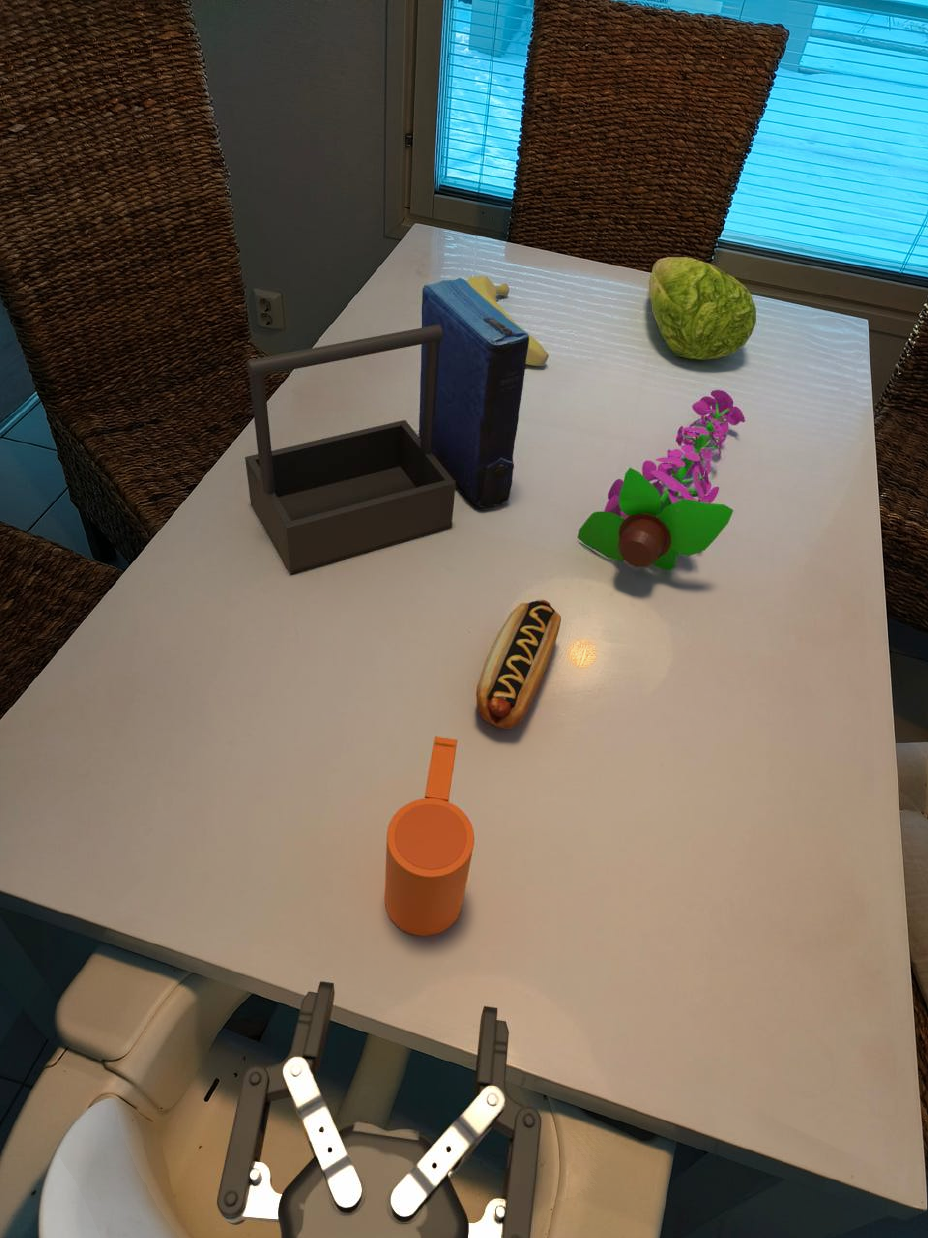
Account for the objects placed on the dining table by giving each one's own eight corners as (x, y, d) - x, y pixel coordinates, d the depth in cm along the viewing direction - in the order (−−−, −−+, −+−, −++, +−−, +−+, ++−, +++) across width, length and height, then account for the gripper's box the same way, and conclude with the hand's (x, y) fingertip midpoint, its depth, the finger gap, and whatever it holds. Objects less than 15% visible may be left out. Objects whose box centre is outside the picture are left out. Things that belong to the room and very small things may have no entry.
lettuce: (719, 256, 128) (666, 202, 121) (785, 329, 111) (728, 270, 104) (659, 318, 134) (606, 269, 127) (713, 396, 116) (654, 344, 110)
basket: (288, 575, 82) (272, 398, 67) (248, 504, 88) (226, 328, 74) (453, 527, 89) (470, 356, 74) (404, 464, 95) (411, 296, 81)
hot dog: (460, 729, 71) (466, 692, 68) (509, 622, 80) (516, 585, 76) (517, 749, 70) (525, 712, 67) (560, 639, 79) (569, 602, 75)
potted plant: (574, 609, 87) (664, 457, 112) (737, 600, 78) (795, 437, 103) (537, 504, 82) (640, 368, 106) (708, 481, 72) (777, 338, 97)
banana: (456, 301, 107) (475, 254, 122) (442, 341, 110) (462, 290, 126) (555, 344, 109) (562, 292, 124) (538, 382, 112) (546, 327, 127)
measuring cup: (457, 941, 59) (469, 882, 52) (378, 930, 59) (379, 869, 52) (473, 809, 66) (485, 743, 60) (402, 799, 66) (406, 731, 60)
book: (516, 504, 92) (544, 333, 77) (474, 518, 90) (495, 345, 75) (450, 433, 100) (464, 266, 85) (410, 444, 98) (418, 274, 83)
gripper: (536, 1455, 30) (554, 992, 42) (144, 1392, 31) (267, 950, 42) (511, 1450, 36) (533, 1042, 47) (178, 1397, 36) (279, 1004, 47)
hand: (407, 999), depth 44 cm, fingers open, 8 cm apart
